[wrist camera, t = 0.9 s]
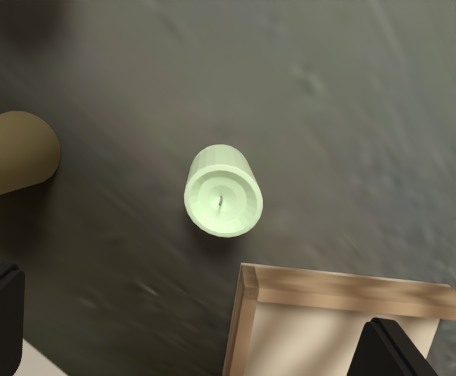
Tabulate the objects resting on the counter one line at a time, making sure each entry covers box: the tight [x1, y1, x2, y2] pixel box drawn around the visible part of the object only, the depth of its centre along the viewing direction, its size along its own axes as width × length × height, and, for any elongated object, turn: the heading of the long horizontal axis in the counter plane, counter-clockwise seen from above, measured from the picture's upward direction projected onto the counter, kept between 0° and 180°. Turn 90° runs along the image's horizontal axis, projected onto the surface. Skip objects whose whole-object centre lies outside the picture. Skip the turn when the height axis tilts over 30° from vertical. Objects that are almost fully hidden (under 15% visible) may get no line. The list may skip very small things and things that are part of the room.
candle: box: [184, 145, 263, 237], centre depth 26 cm, size 5×5×8 cm
